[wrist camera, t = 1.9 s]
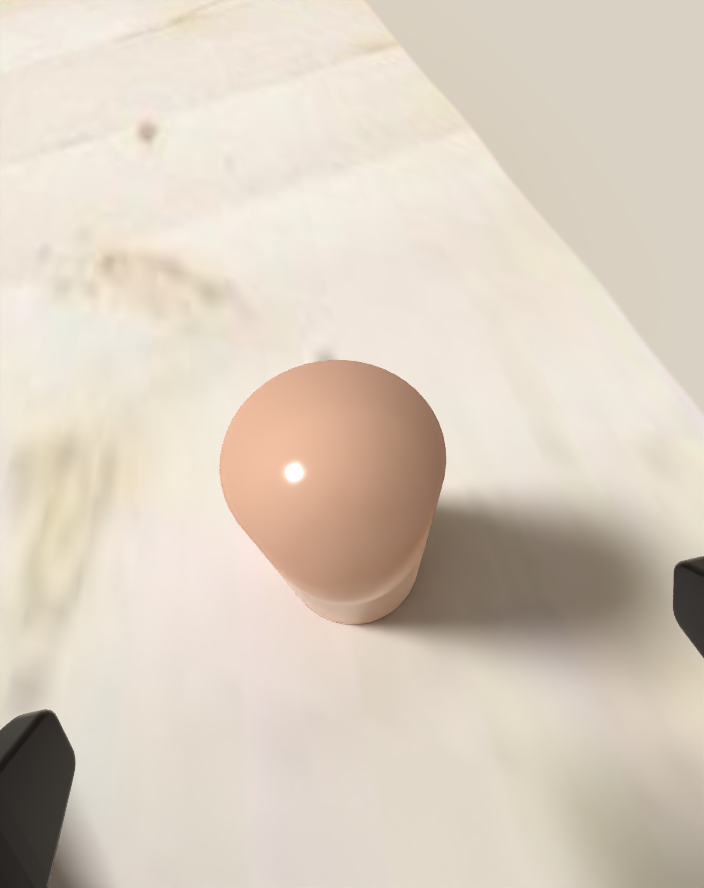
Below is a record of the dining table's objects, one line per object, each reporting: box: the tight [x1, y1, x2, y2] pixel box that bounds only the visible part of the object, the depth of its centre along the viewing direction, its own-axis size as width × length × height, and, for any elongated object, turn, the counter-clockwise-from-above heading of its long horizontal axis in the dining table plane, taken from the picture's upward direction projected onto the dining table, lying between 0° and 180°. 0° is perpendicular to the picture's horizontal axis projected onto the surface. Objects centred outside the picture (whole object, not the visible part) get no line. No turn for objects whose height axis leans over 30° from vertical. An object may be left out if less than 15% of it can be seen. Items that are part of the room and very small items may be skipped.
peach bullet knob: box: [220, 360, 446, 625], centre depth 15 cm, size 5×5×9 cm
